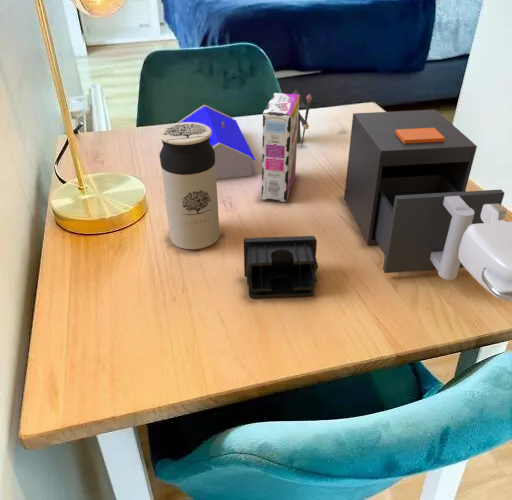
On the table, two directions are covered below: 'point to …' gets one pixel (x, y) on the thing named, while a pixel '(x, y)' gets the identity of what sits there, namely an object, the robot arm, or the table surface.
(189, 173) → the travel mug
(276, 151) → the candy bar box
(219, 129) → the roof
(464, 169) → the fryer housing
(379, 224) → the basket
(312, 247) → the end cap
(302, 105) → the wizard figurine
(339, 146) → the table surface
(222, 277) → the table surface
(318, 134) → the table surface
